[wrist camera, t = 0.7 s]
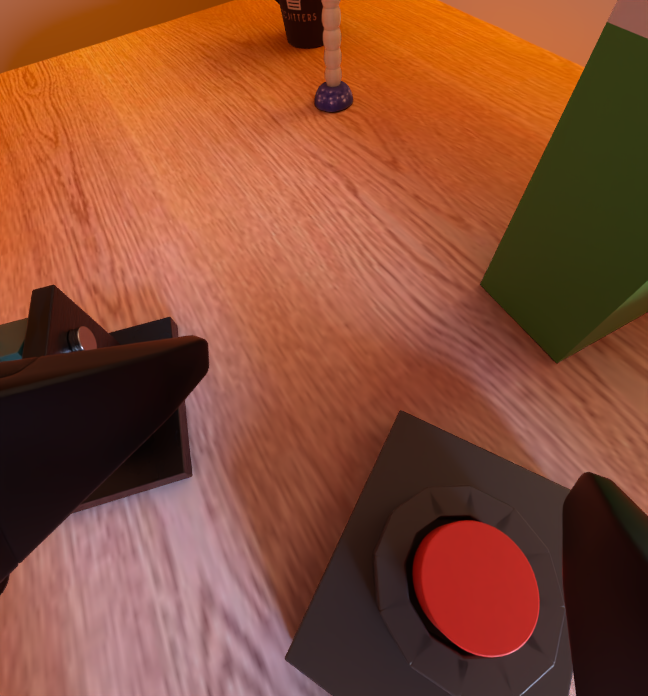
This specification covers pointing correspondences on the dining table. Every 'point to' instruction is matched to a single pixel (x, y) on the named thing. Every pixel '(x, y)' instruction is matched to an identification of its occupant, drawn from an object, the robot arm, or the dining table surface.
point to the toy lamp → (332, 63)
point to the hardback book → (586, 205)
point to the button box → (397, 581)
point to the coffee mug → (303, 22)
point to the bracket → (84, 334)
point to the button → (476, 587)
